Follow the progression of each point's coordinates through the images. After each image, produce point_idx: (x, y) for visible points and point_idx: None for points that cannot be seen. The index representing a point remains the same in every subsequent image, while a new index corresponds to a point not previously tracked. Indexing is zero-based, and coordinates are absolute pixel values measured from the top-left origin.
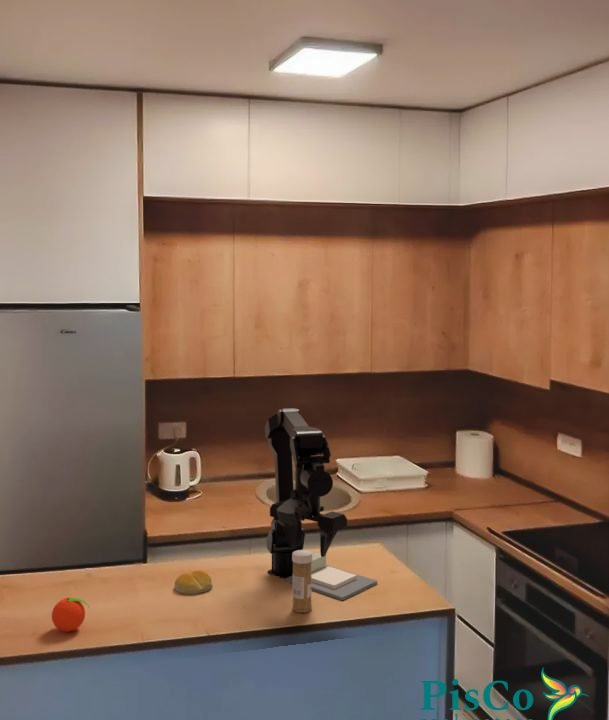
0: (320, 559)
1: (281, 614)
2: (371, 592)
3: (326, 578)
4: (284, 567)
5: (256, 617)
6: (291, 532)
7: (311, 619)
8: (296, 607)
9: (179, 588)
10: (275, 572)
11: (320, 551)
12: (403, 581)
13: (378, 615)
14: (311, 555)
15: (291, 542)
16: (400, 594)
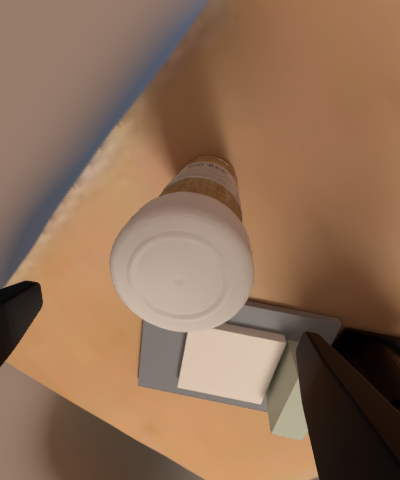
0: (277, 413)
1: (244, 115)
2: (124, 342)
3: (229, 350)
4: (366, 359)
5: (313, 35)
6: (361, 474)
7: (146, 136)
8: (210, 158)
9: None
10: (386, 343)
11: (8, 299)
12: (107, 402)
13: (34, 249)
14: (116, 282)
15: (317, 365)
16: (73, 355)
